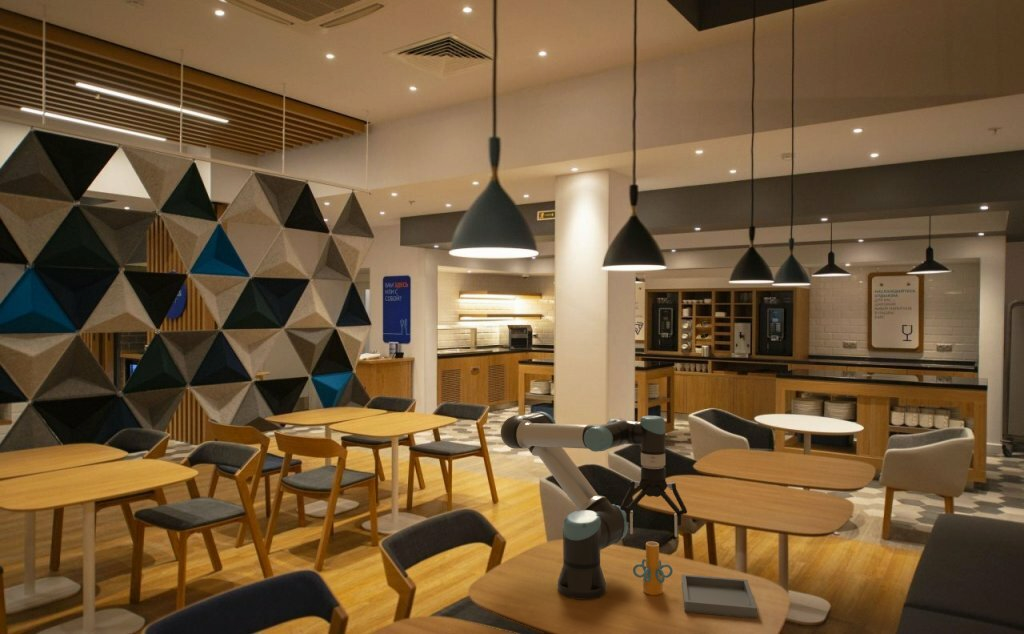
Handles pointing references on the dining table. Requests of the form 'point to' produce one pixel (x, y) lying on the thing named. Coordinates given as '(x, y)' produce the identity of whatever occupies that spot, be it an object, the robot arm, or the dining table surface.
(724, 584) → the tray
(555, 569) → the dining table surface
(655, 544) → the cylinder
